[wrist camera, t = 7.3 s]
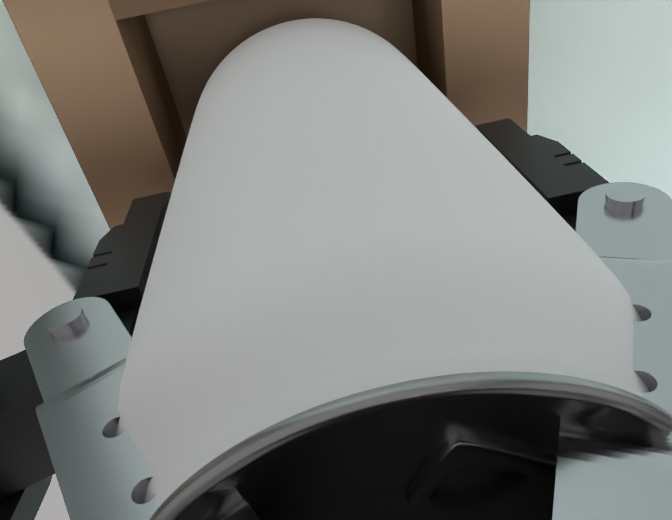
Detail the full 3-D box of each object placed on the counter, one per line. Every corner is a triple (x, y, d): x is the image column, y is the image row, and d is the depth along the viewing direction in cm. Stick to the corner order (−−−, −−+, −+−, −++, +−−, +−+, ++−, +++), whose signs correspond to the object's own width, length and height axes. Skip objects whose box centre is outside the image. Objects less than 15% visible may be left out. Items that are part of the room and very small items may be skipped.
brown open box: (31, -77, 15) (-31, -70, 11) (473, -170, 15) (534, -188, 12) (179, 282, 21) (166, 349, 18) (484, 217, 21) (523, 272, 18)
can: (162, 197, 16) (-2, 726, 6) (246, -37, 13) (220, 193, 3) (363, 267, 18) (503, 741, 8) (474, 80, 15) (921, 448, 5)
